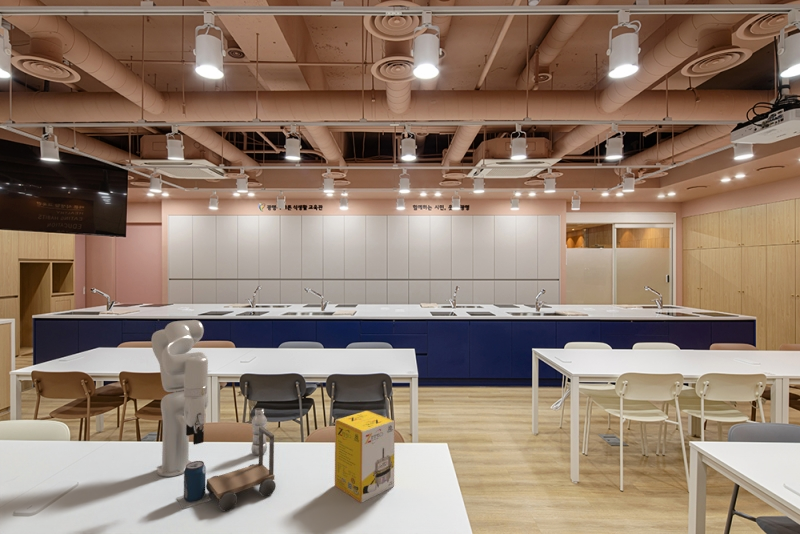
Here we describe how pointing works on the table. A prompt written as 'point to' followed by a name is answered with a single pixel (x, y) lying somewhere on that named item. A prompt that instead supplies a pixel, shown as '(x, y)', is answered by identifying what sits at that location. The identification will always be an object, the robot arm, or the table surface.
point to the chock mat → (186, 504)
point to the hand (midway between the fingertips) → (194, 438)
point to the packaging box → (364, 454)
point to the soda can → (194, 481)
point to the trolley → (245, 477)
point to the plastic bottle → (258, 422)
